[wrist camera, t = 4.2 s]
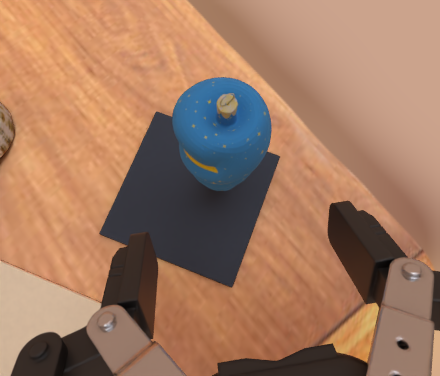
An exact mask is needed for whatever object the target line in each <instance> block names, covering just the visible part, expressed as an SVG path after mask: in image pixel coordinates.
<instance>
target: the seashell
mask: <svg viewBox="0 0 440 376" xmlns="http://www.w3.org/2000/svg"><path fill="white" fill-rule="evenodd" d="M13 138H14V126H13V123H12V117H11V114H10V113H9V111H8V110H7V108H6V107H5V106H4V105H3V104H2V103H1V102H0V157H1V156H2V155H3V154H4V153H5V152H6V151H7V150H8V148H9V147H10V145H11V143H12V140H13Z"/></svg>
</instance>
